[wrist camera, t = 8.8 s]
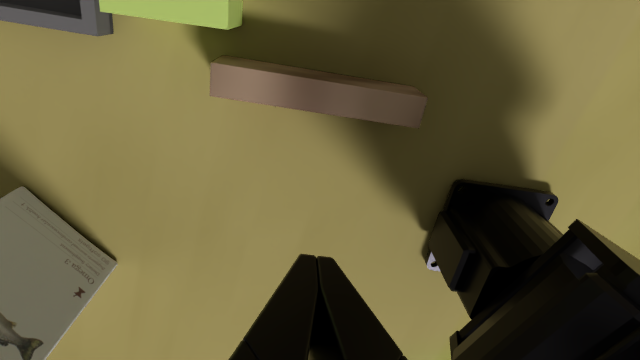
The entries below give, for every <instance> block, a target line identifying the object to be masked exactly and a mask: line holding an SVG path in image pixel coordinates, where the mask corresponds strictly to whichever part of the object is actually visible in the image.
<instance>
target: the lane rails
mask: <svg viewBox="0 0 640 360" xmlns="http://www.w3.org/2000/svg"><path fill="white" fill-rule="evenodd" d="M210 96H213V97H220V98H226V99H233V100H239V101H245V102H252V103H258V104H265V105H271V106H278V107H284V108H290V109H297V110H303V111H310V112H316V113H323V114H329V115H336V116H342V117H348V118H355V119H361V120H368V121H374V122H381V123H387V124H394V125H400V126H406V127H413V128H419V127H420V124H421V120H422V117H423V113H424V110H425V107H426V103H427V100H428V98H427V97H426V96H425V95H424V94H423V93H421V92H420V91H419V90H418V89H417V88H415V87H413V86H407V85H401V84H395V83H389V82H383V81H377V80H371V79H365V78H359V77H353V76H346V75H340V74H334V73H328V72H322V71H316V70H310V69H304V68H298V67H292V66H286V65H280V64H274V63H268V62H262V61H256V60H250V59H244V58H238V57H232V56H226V55H222V56H221V57H219V58H217V59H216V60H214V61H212V62H211V73H210Z"/></svg>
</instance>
